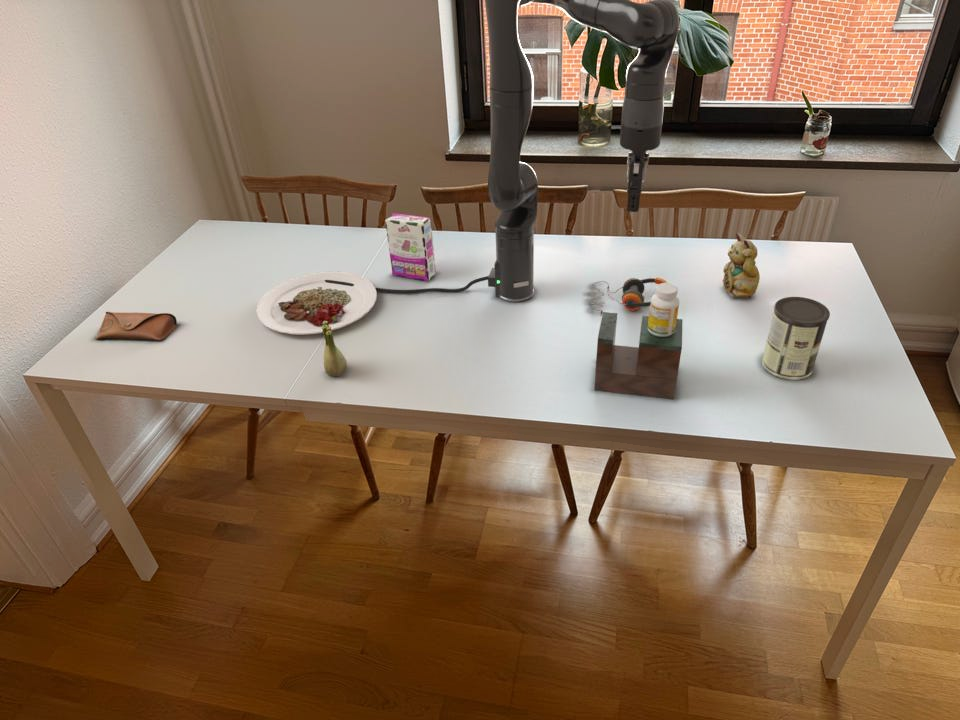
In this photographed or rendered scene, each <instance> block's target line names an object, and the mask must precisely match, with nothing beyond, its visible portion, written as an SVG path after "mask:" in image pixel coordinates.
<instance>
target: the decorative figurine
mask: <svg viewBox="0 0 960 720" xmlns="http://www.w3.org/2000/svg"><path fill="white" fill-rule="evenodd" d="M735 236H736V241H734V242H733V243H731V246H730V247H729V249H728V251H727V256H728V257H729V261H727V262H726V263H725V265H724V267H723V269H722V270H723V273H724V274H723V278H722V285H723V288H724V290H725V292H726V293H727V294H728V295H729V296H730V298H731V299H739V298H740V299H749V298H751V297H752V296H753V295H755V293H756V291H757V290H758V287H759V284H760V279H761V278H760V277H761V276H760V272H759V269H758V266H757V265H756V263H757V262H756V258H757V257H758V248H757V246H756V245H755V244H754V242H752V241H751V240H749V239H747V238H746V237H745V236H744V235H743V234H741V233H739V232H736V233H735Z"/></svg>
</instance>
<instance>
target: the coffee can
mask: <svg viewBox="0 0 960 720" xmlns="http://www.w3.org/2000/svg"><path fill="white" fill-rule="evenodd" d="M830 316H831V313H830V310H829V309H828V307H827V305H824V304H823V303H821V302H819V301H818V300H815V299H812V298H808V297H803V296H786V297H783V298H780V299H778V300H777V301H776V302H775V304H774V307H773V314H772V318H771V321H770V327H769V331H768V335H767V340H766V344H765V347H764V352H763V357H762V358H761V365H762V367H763V368H764V369H765V370H766V371H767V372H768V373H769V374H771V375H773V376H775V377H776V378H780V379H783V380H790V381H797V380H798V381H799V380H804V379H806V378H809V377H811V375H812V374H813V372H814V367H815V364H816V361H817V356H818V354H819V350H820V346H821V343H822V340H823V336H824V333H825V330H826V327H827V323H828V321H829V319H830Z"/></svg>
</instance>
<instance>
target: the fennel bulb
mask: <svg viewBox="0 0 960 720" xmlns="http://www.w3.org/2000/svg"><path fill="white" fill-rule="evenodd" d="M322 325H323V327H322V330H323V337H324V341H325V342H324V343H325V344H324V350H323V367H324V372H325V374H327V375H328V376H329V377H339V376H341V375H342V374H344V373H345V371H346V370H347V369H348V362H347V359H346V358H345V355H344V353H343V352H342V351H341V350H340V349H339V348H338V347H337V346H336V344H335V340H334V335H333V331H331V327H330V326H329V325H328V321H323V323H322Z"/></svg>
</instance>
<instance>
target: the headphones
mask: <svg viewBox="0 0 960 720" xmlns="http://www.w3.org/2000/svg"><path fill="white" fill-rule="evenodd" d="M599 283H606V284H607V287H606V289H607V290H606V291H607V296H608V298H610V299H611V300H613V301H615V302H617V303H618V304H620V305H622V306H623V307H624V309H626V310H627V311H632V312H633V311H637V310H639V309H641V308H646V307H647V308H648V307H650V303H651V300H650V301H645V296H644V292H645V284H649V283H650V284H651V283H654V284H656V285H659V284H661V283H668V282H667V281H666V280H665V279H664V278H660V277H655V278H653V277H652V278H651V277H648V278H643V279H639V278H636V277H630V278H628V279H626V281H624V283H623V285H622V286H621V287H619V288H618V289H616V291H613V292H611V291H610V285H609V283H608V281H603V280H600V281H597V282H594V283H592V284H591V285H590V287H591V288H592V289H595V290H596V291H591V292H588V293H587V295H588V296H590V295H594V296H593V298H590V299H588V300H587V304H588V305H591V307H590V308H589V311H590V312H600V317H602V314H603V312H604V311H603V310H602V309H594V308H599V307H600V308H601V307H603V305H605V304H606V301H598V300H601V299H602V297H603V296H605V293H604V292H600V290H601V289H600V288H598V287H594V285H595V284H599ZM621 289H622V293H623V294H622V296H621V301H622V302H621V301H619V300H618V299H615V298H614V297H612V296H611V295H610V294H616V293H618V292H619V291H620V290H621Z"/></svg>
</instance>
